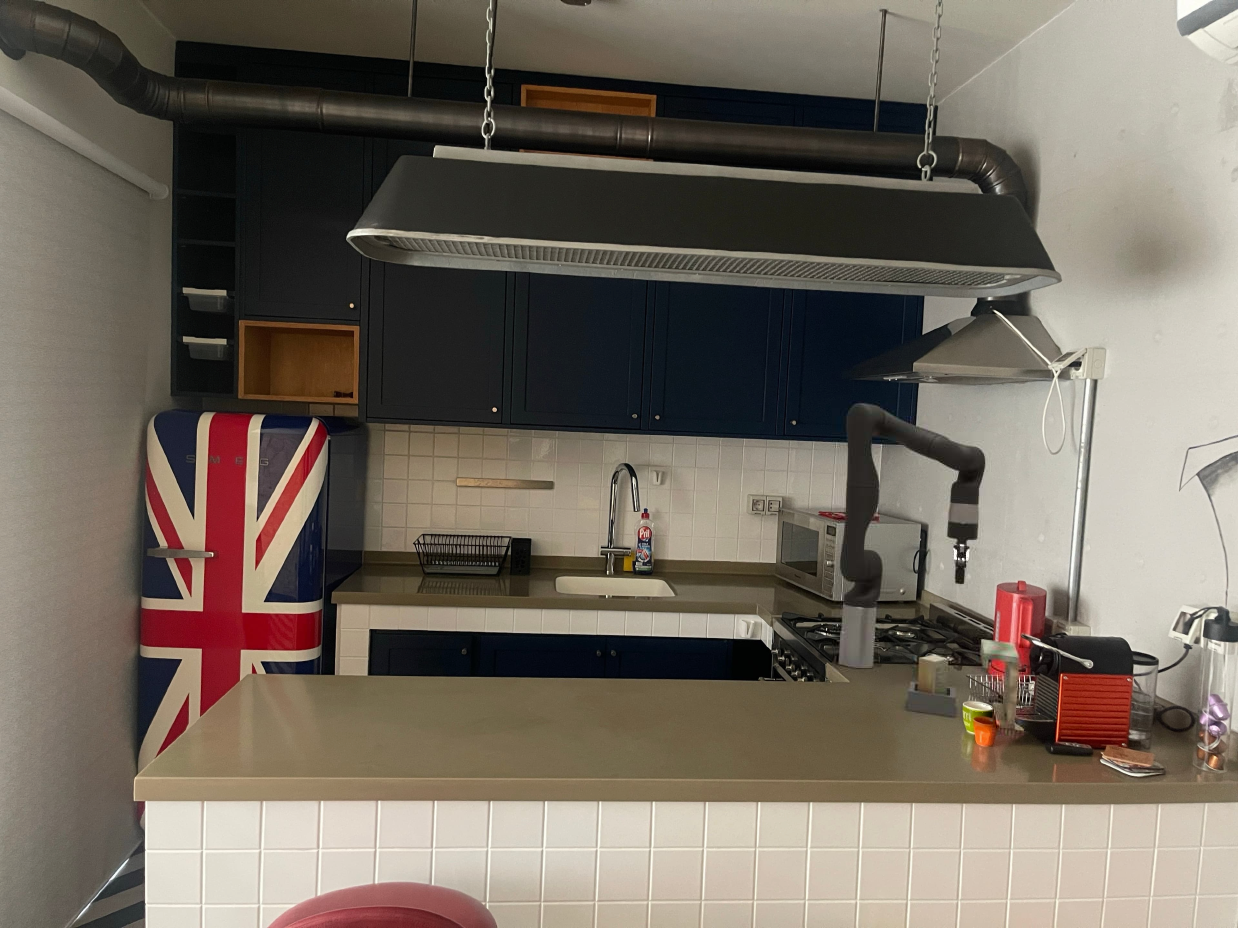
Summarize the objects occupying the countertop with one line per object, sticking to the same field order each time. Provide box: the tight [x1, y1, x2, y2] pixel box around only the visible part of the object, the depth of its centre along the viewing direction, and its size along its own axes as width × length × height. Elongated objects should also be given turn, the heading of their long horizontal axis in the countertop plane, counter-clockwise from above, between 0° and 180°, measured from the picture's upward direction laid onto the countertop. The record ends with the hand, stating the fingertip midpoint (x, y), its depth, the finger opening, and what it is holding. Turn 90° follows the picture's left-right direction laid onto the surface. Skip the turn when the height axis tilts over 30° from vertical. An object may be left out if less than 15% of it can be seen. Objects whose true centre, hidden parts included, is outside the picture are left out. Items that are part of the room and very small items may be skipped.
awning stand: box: [979, 638, 1025, 732], centre depth 202 cm, size 10×18×16 cm, turn 159°
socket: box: [907, 681, 957, 718], centre depth 207 cm, size 10×10×4 cm
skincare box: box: [917, 654, 949, 695], centre depth 207 cm, size 6×4×12 cm
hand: (959, 581), depth 228 cm, fingers open, 8 cm apart
